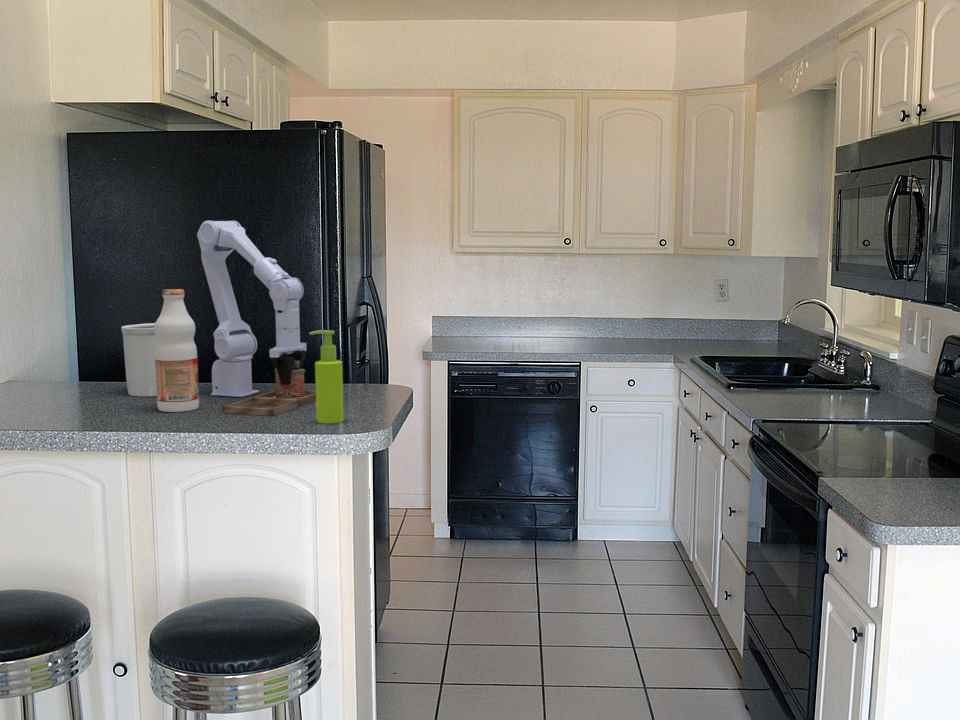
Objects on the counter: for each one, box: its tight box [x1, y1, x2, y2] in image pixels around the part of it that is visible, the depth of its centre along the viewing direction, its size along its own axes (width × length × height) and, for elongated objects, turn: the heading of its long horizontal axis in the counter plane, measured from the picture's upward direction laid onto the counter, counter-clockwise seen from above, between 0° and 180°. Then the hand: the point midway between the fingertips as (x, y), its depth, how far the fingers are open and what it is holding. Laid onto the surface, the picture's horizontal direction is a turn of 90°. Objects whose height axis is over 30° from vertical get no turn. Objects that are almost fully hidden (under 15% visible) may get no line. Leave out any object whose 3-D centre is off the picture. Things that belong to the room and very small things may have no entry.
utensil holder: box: [120, 322, 157, 398], centre depth 253 cm, size 15×15×18 cm
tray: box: [221, 389, 316, 417], centre depth 236 cm, size 13×26×2 cm, turn 161°
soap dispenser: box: [308, 329, 344, 424], centre depth 215 cm, size 6×7×20 cm
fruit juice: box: [154, 288, 200, 413], centre depth 229 cm, size 9×9×28 cm
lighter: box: [274, 360, 306, 399], centre depth 242 cm, size 8×3×10 cm, turn 68°
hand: (289, 383), depth 242 cm, fingers closed on lighter, 3 cm apart
